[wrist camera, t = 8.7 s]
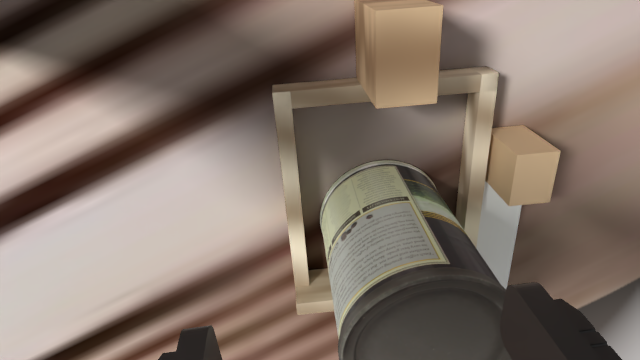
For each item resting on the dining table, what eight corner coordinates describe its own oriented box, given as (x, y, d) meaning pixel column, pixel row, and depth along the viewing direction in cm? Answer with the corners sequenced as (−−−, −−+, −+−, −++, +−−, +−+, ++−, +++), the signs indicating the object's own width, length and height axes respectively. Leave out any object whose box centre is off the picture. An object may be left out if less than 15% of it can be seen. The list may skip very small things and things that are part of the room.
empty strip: (481, 129, 33) (513, 155, 29) (527, 124, 33) (565, 150, 29) (457, 332, 43) (477, 375, 39) (492, 328, 44) (516, 371, 39)
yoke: (263, 5, 28) (258, 20, 22) (495, -13, 28) (555, -4, 22) (295, 282, 39) (298, 344, 32) (463, 264, 39) (497, 321, 33)
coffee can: (454, 164, 34) (554, 282, 22) (422, 266, 39) (490, 411, 27) (328, 152, 33) (358, 271, 21) (310, 259, 38) (326, 409, 25)
